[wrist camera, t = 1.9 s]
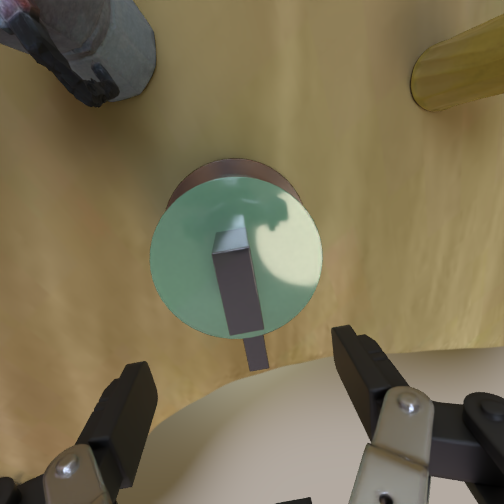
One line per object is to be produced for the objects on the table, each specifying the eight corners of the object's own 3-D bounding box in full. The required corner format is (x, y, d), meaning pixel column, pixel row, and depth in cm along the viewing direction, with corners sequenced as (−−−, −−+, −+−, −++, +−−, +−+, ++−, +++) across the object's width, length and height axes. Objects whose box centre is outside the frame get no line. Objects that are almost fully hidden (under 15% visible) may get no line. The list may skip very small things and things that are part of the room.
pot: (158, 182, 30) (96, 206, 16) (289, 158, 30) (337, 163, 17) (199, 338, 37) (179, 450, 23) (308, 318, 37) (355, 418, 23)
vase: (464, 31, 28) (674, -79, 15) (473, 97, 30) (665, 52, 17) (403, 58, 29) (555, -25, 15) (416, 121, 31) (560, 96, 17)
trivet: (183, 306, 36) (182, 308, 35) (146, 172, 31) (145, 173, 30) (312, 283, 36) (313, 285, 35) (297, 146, 31) (298, 146, 30)
